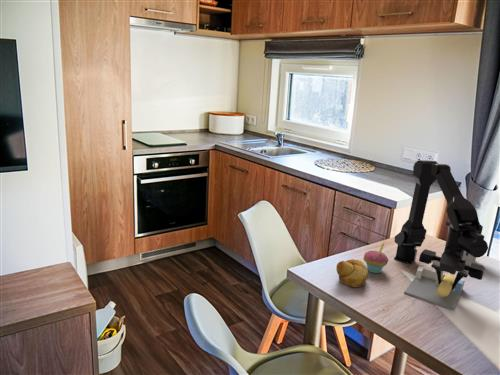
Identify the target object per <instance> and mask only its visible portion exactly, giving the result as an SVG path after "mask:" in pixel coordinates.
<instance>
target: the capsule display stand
mask: <svg viewBox="0 0 500 375" xmlns="http://www.w3.org/2000/svg"><path fill="white" fill-rule="evenodd" d="M415 273H416V274H415V276H414V278H413V280H412V281H411V282H410V283H409V285H408V286H407V287H406V289H405V290H404V292H403V294H405V295H407V294H408V296H410V295H411V296H410V297H414V298H417V299H419V300H422V301H425V302H428V303H431V304H434V305H437V306H438V307H439V306H440V307H442V308H444V309H448V310H451V311H454V310H455V308H456V306H457V304H458V301H459V299H460V296H461V294H462V293H463V290H464V286H465V282H466V280H465V279H464V278H462V279H461V280H460V281H459V282H458V283H457V285H456V286H455V288H454V289H453V290H451V291H450V293H449V295H448V296H446V297H442V296H440V295H439V294H438V292H437V288H438V287H439V284H438V277H437V273H436V270H435V269H430V268H427V267H423V266H420V265H419V266H418V268H417V269H416V272H415ZM445 275H447V274H446V273H443V276H442V280H443V278H444V276H445ZM454 277H455V278H456V276H454Z"/></svg>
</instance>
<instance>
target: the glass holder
mask: <svg viewBox="0 0 500 375" xmlns="http://www.w3.org/2000/svg"><path fill="white" fill-rule="evenodd" d="M461 225H472V224H461ZM480 225H481V226H480V229H481V232H477V233H479V234H482V233H483V229H484V227H483V225H482V224H480ZM463 260H464V261H466V263H465V264H467V265H470V266H471V264H472V263H476V264H477V261H476V257H473V256H472V255H470V254H469V253H467V252H466V251H465V252H464V256H463Z"/></svg>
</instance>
